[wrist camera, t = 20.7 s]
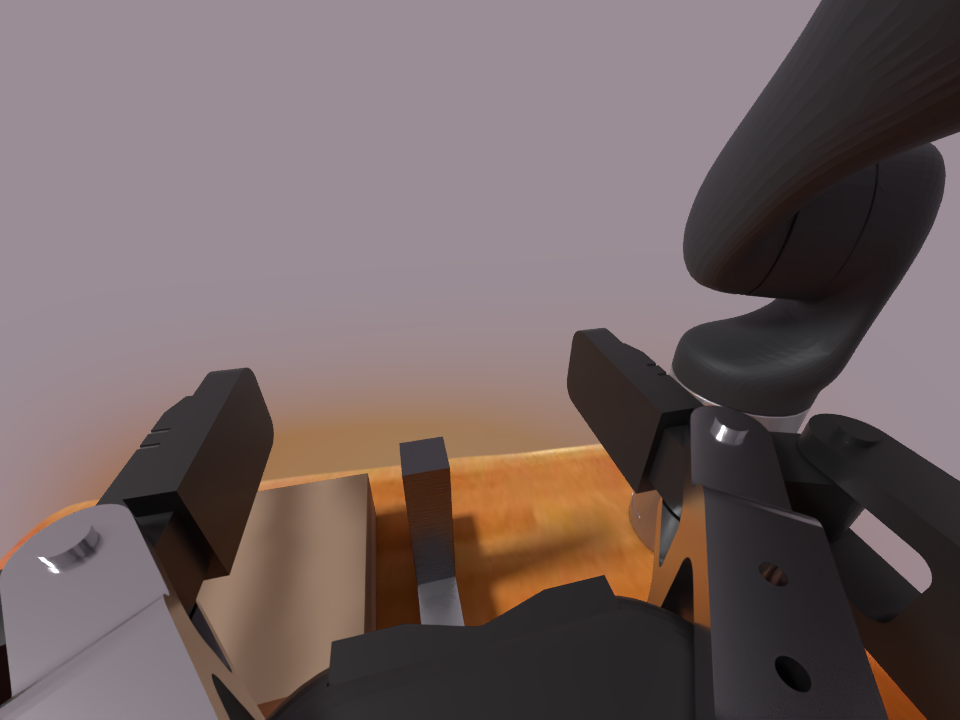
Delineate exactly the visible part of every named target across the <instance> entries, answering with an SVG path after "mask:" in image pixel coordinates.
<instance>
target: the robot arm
mask: <svg viewBox="0 0 960 720" xmlns="http://www.w3.org/2000/svg"><path fill="white" fill-rule="evenodd" d="M957 132H960V0H822V1H821V2H820V4H819V6H818V7H817V9H816V11H815V12H814V14H813V16H812V17H811V19H810V21H809V22H808V24H807V26H806V27H805V29H804V30H803V32H802V33H801V35H800V37H799V38H798V40H797V41H796V43H795V44H794V46H793V47H792V49H791V51H790V52H789V54H788V55H787V56H786V58H785V60H784V61H783V62H782V64H781V65H780V67H779V68H778V70H777V71H776V73H775V74H774V76H773V77H772V79H771V80H770V82H769V83H768V85H767V86H766V87H765V89H764V90H763V92H762V93H761V95H760V96H759V97H758V99H757V100H756V102H755V103H754V105H753V106H752V107H751V109H750V110H749V112H748V113H747V115H746V116H745V118H744V119H743V120H742V122H741V123H740V125H739V126H738V128H737V129H736V131H735V132H734V133H733V135H732V136H731V138H730V139H729V141H728V142H727V144H726V145H725V147H724V148H723V150H722V151H721V153H720V154H719V156H718V158H717V159H716V161H715V163H714V164H713V166H712V167H711V169H710V171H709V172H708V174H707V176H706V178H705V180H704V182H703V184H702V186H701V187H700V189H699V191H698V194H697V196H696V198H695V201H694V203H693V205H692V209H691V211H690V214H689V217H688V221H687V223H686V228H685V233H684V242H683V253H684V261H685V264H686V267H687V270H688V271H689V273H690V275H691V277H693V278H694V279H695V280H696V281H697V282H698V283H699V284H701V285H703V286H706V287H708V288H711V289H713V290H716V291H720V292H724V293H730V294H740V295H748V296H758V297H768V298H776V299H775V300H774V301H773V302H771V303H770V304H768V305H766V306H764V307H762V308H761V309H758V310H756V311H754V312H751V313H748V314H745V315H742V316H738V317H734V318H730V319H725V320H719V321H714V322H709V323H705V324H701V325H698V326H696V327H693V328H692V329H690V330H688V331H687V332H686V333H685V334H684V335H683V336H682V338H681V339H680V341H679V343H678V346H677V348H676V351H675V355H674V358H673V362H672V365H671V369H670V372H669V375H667V374H666V372H665V371H664V370H663V369H662V368H661V367H660V366H658V365H657V366H656V363H655V362H654V361H653V360H651V359H650V358H649V357H648V356H647V355H646V354H645V353H643V352H642V351H640V350H638V349H635V348H633V347H631V346H629V345H627V344H625V343H624V344H623V343H622V342H621V341H619V339H618V338H616V337H615V336H614V335H613V334H612V333H611V332H610V331H609V330H607V329H606V328H598V329H589V330H581V331H577V332H576V333H575V334H574V336H573V341H572V348H571V355H570V362H569V369H568V377H567V388H568V393H569V396H570V399H571V401H572V402H573V404H574V405H575V407H576V408H577V409H578V411H579V412H580V414H581V415H582V417H583V418H584V420H585V421H586V422H587V424H588V425H589V427H590V428H591V430H592V431H593V432H594V434H595V435H596V437H597V438H598V440H599V441H600V443H601V444H602V445H603V447H604V448H605V450H606V451H607V453H608V454H609V456H610V457H611V458H612V460H613V461H614V463H615V464H616V466H617V467H618V468H619V470H620V471H621V473H622V474H623V476H624V477H625V479H626V480H627V481H628V483H629V484H630V486H631V487H632V489H633V490H634V491H633V494H632V499H631V503H630V507H629V517H630V522H631V524H632V527H633V529H634V531H635V532H636V534H637V535H638V537H639V538H640V540H641V541H642V542H643V543H644V544H645V545H646V546H647V547H648V548H649V549H650V550H652V551H653V552H654V561H653V575H652V582H651V588H650V592H649V596H648V600H647V602H644V601H641V600H638V599H634V598H628V597H623V596H615V595H614V593H613V591H612V589H611V587H610V585H609V583H608V581H607V579H606V577H605V575H603V576H598V577H594V578H590V579H586V580H582V581H578V582H574V583H570V584H566V585H562V586H557V587H553V588H549V589H545V590H543V591H541V592H539V593H538V594H536V595H534V596H533V597H531V598H529V599H528V600H526V601H524V602H522V603H521V604H519V605H517V606H516V607H514V608H512V609H511V610H509V611H507V612H506V613H504V614H502V615H500V616H499V617H497V618H495V619H494V620H492V621H490V622H489V623H487V624H484V625H481V626H451V625H427V624H402V625H398V626H394V627H390V628H386V629H381V630H377V631H373V632H369V633H365V634H361V635H357V636H353V637H349V638H345V639H340V640H336V641H332V643H331V654H330V665H329V668H327V669H325V670H323V671H322V672H320V673H318V674H317V675H315V676H314V677H313V678H311V679H310V680H308V681H307V682H305V683H304V684H303V685H301V686H300V687H299V688H297V689H296V690H295V691H294V692H293V693H292V694H291V695H289V696H288V697H287V698H286V699H285V700H284V701H282V702H281V703H280V704H279V705H278V706H277V707H276V708H275V709H274V710H273V711H272V712H271V713H270V715H269V716H268V717H267V718H266V719H265V717H264V716H263V714H262V713H261V711H260V709H259V708H258V706H257V705H256V703H255V701H254V700H253V698H252V697H251V696H250V694H249V692H248V691H247V689H246V688H245V686H244V684H243V683H242V681H241V679H240V677H239V675H238V673H237V672H236V670H235V668H234V666H233V664H232V662H231V660H230V658H229V657H228V655H227V653H226V651H225V649H224V647H223V645H222V643H221V642H220V640H219V638H218V636H217V634H216V632H215V630H214V628H213V626H212V625H211V623H210V621H209V619H208V617H207V615H206V613H205V611H204V610H203V608H202V606H201V604H200V603H199V602H198V600H197V596H198V593H199V591H200V588H201V585H202V583H203V581H204V580H209V579H214V578H219V577H224V576H229V575H230V573H231V570H232V567H233V563H234V560H235V557H236V554H237V551H238V548H239V545H240V542H241V539H242V536H243V533H244V530H245V527H246V524H247V521H248V518H249V515H250V512H251V509H252V506H253V503H254V500H255V497H256V494H257V491H258V488H259V485H260V482H261V479H262V475H263V472H264V469H265V466H266V463H267V460H268V457H269V454H270V451H271V448H272V445H273V436H274V432H273V424H272V420H271V417H270V414H269V412H268V409H267V406H266V404H265V401H264V398H263V396H262V393H261V390H260V388H259V386H258V383H257V380H256V377H255V375H254V373H253V372H252V371H251V369H249V368H239V369H231V370H221V371H212V372H210V373H208V374H207V376H206V377H205V379H204V380H203V381H202V383H201V385H200V386H199V387H198V389H197V390H196V392H195V393H194V395H193V396H187V397H185V398H183V399H182V400H181V401H180V402H178V403H177V404H176V405H174V406H173V407H171V408H170V409H169V410H167V411H166V412H165V413H164V414H163V415H162V417H161V418H160V419H159V421H158V422H157V424H156V425H155V426H154V427H153V429H152V430H151V432H152V433H151V434H148V435H147V437H146V438H145V439H144V441H143V442H142V444H141V445H140V449H139V450H136V452H135V453H134V454H133V456H132V457H131V459H130V460H129V461H128V463H127V464H126V465H125V467H124V468H123V469H122V471H121V472H120V473H119V475H118V476H117V477H116V479H115V480H114V481H113V483H112V484H111V485H110V487H109V488H108V489H107V491H106V492H105V494H104V495H103V496H102V498H101V499H100V500H99V502H98V503H97V504H96V506H93V507H89V508H86V509H82V510H80V511H77V512H74V513H72V514H70V515H68V516H65V517H63V518H61V519H59V520H58V521H56V522H54V523H52V524H50V525H49V526H47V527H46V528H44V529H42V530H41V531H40V532H38V533H37V534H35V535H34V536H33V537H31V538H30V539H29V540H28V541H27V542H25V543H24V544H23V545H22V546H21V547H20V548H19V549H18V550H17V551H16V552H15V553H14V554H13V555H12V556H11V558H10V559H9V560H8V561H7V563H6V565H5V566H4V568H3V569H2V570H0V720H888V717H887V714H886V711H885V708H884V705H883V702H882V699H881V696H880V693H879V690H878V687H877V684H876V681H875V678H874V675H873V673H872V670H871V667H870V664H869V661H868V658H867V655H866V652H865V649H866V650H867V651H868V652H869V653H870V654H871V656H872V657H873V658H874V659H875V660H876V661H877V662H878V664H879V665H880V666H881V667H882V668H883V669H884V670H885V672H886V673H887V674H888V675H889V676H890V677H891V679H892V680H893V681H894V682H895V683H896V684H897V685H898V687H899V688H900V689H901V690H902V691H903V692H904V693H905V695H906V696H907V697H908V698H909V699H910V700H911V701H912V703H913V704H914V705H915V706H916V707H917V708H918V709H919V711H920V712H921V713H922V714H923V715H924V716H925V717H926V719H927V720H960V481H958V480H957V479H955V478H954V477H952V476H950V475H949V474H947V473H946V472H945V471H943V470H941V469H940V468H938V467H937V466H935V465H934V464H932V463H931V462H929V461H927V460H926V459H924V458H923V457H921V456H920V455H918V454H917V453H915V452H914V451H912V450H911V449H909V448H907V447H906V446H904V445H903V444H901V443H899V442H898V441H897V440H895V439H894V438H892V437H890V436H889V435H887V434H886V433H884V432H883V431H881V430H879V429H877V428H875V427H873V426H871V425H869V424H867V423H865V422H862V421H859V420H856V419H853V418H850V417H846V416H842V415H836V414H818V415H815V416H813V417H812V418H810V420H809V422H808V423H807V425H806V427H805V429H804V430H803V432H802V433H801V434H798V433H797V431H798V430H799V428H800V426H801V424H802V422H803V421H804V419H805V417H806V415H807V413H808V411H809V410H810V408H811V406H812V404H813V403H814V401H815V399H816V397H817V395H818V394H819V392H820V391H821V390H822V389H823V388H825V387H826V386H828V385H829V384H830V383H831V382H832V381H833V380H834V379H835V378H837V376H838V375H839V374H840V373H841V372H842V370H843V369H844V367H845V366H846V364H847V363H848V361H849V360H850V358H851V357H852V355H853V353H854V352H855V350H856V348H857V347H858V345H859V343H860V342H861V340H862V339H863V337H864V336H865V334H866V333H867V331H868V330H869V328H870V327H871V325H872V323H873V322H874V320H875V319H876V317H877V316H878V314H879V313H880V312H881V310H882V309H883V307H884V305H885V304H886V303H887V301H888V300H889V298H890V297H891V295H892V294H893V292H894V290H895V289H896V288H897V286H898V285H899V283H900V282H901V280H902V279H903V277H904V275H905V274H906V272H907V271H908V269H909V267H910V266H911V264H912V263H913V261H914V259H915V258H916V256H917V254H918V253H919V251H920V249H921V247H922V245H923V243H924V242H925V240H926V238H927V236H928V234H929V232H930V230H931V228H932V226H933V224H934V221H935V218H936V215H937V213H938V210H939V207H940V204H941V201H942V198H943V193H944V186H945V176H946V175H945V165H944V161H943V158H942V155H941V154H940V152H939V151H938V149H937V148H936V147H935V146H934V145H932V144H931V143H930V142H933V141H936V140H938V139H941V138H944V137H946V136H949V135H952V134H955V133H957ZM865 508H866V509H867V510H868V511H869V512H870V513H872V514H873V515H874V516H875V517H876V518H878V519H879V520H880V521H881V522H882V523H883V524H885V525H886V526H887V527H888V528H889V529H891V530H892V531H893V532H894V533H896V534H897V535H898V536H899V537H900V538H901V539H903V540H904V541H905V542H906V543H907V544H909V545H910V546H911V547H912V548H913V549H915V550H916V551H917V552H918V553H919V554H920V555H921V556H922V557H923V559H924V560H925V561H926V563H927V564H928V566H929V568H930V570H931V573H932V583H931V585H930V587H929V588H928V589H927V590H925V591H924V592H923V593H922V594H921V593H920V592H919V591H918V590H917V589H916V588H914V587H913V586H912V585H911V584H910V583H909V582H908V581H907V580H906V579H905V578H903V577H902V576H901V575H900V574H899V573H898V572H897V571H896V570H895V569H894V568H893V567H892V566H890V565H889V564H888V563H887V562H886V561H885V560H884V559H883V558H882V557H881V556H880V555H878V554H877V553H876V552H875V551H874V550H873V549H872V548H871V547H870V546H869V545H867V544H866V543H865V542H864V541H863V540H862V539H861V538H860V537H859V536H858V535H856V534H855V533H854V532H853V531H852V530H851V529H850V528H849V527H850V526H851V525H852V523H853V522H854V521H855V520H856V518H857V517H858V516H859V515H860V513H861V512H862V511H863V510H864V509H865ZM864 648H865V649H864Z"/></svg>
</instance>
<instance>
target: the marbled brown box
mask: <svg viewBox="0 0 960 720" xmlns="http://www.w3.org/2000/svg"><path fill="white" fill-rule="evenodd" d="M197 600H198V602H199V603H200V604H201V606H202V608H203V610H204V611H205V613H206V615H207V617H208V619H209V621H210V623H211V625H212V626H213V628H214V630H215V632H216V634H217V636H218V638H219V640H220V642H221V643H222V645H223V647H224V649H225V651H226V653H227V655H228V657H229V658H230V660H231V662H232V664H233V666H234V668H235V670H236V672H237V673H238V675H239V677H240V679H241V681H242V683H243V684H244V686H245V688H246V689H247V691H248V692H249V694H250V696H251V697H252V698H253V700H254V701H255V703H256V705H257V706H258V708H259V709H260V711H261V713H262V714H263V716H264V717H265V719H266V718H267V717H268V716H269V715H270V713H271V712H272V711H273V710H274V709H275V708H276V707H277V706H278V705H279V704H280V703H281V702H282V701H284V700H285V699H286V698H287V697H288V696H289V695H291V694H292V693H293V692H294V691H295V690H296V689H297V688H299V687H300V686H301V685H303V684H304V683H305V682H307V681H308V680H310V679H311V678H313V677H314V676H315V675H317V674H318V673H320V672H322V671H323V670H325V669H327V668H329V665H330V654H331V643H332V641H336V640H340V639H345V638H349V637H353V636H357V635H361V634H365V633H369V632H373V631H376V512H375V507H374V502H373V497H372V492H371V487H370V483H369V478H368V473H366V474H360V475H354V476H348V477H342V478H336V479H330V480H324V481H318V482H312V483H306V484H300V485H294V486H288V487H282V488H276V489H270V490H264V491H258V492H257V494H256V497H255V500H254V503H253V506H252V509H251V512H250V515H249V518H248V521H247V524H246V527H245V530H244V533H243V536H242V539H241V542H240V545H239V548H238V551H237V554H236V557H235V560H234V563H233V567H232V570H231V573H230V575H229V576H224V577H219V578H214V579H209V580H204V581H203V583H202V585H201V588H200V591H199V593H198V596H197Z"/></svg>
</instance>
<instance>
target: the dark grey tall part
mask: <svg viewBox="0 0 960 720" xmlns="http://www.w3.org/2000/svg"><path fill="white" fill-rule="evenodd" d="M400 456H401V468H402V478H403V485H404V493H405V500H406V507H407V514H408V521H409V528H410V535H411V543H412V550H413V557H414V564H415V571H416V578H417V586H418V596H419V606H420V617H421V624H427V625H451V626H464V621H463V615H462V610H461V604H460V599H459V594H458V588H457V583H456V577H455V560H454V541H453V521H452V501H451V482H450V466H449V462H448V458H447V453H446V449H445V445H444V440H443V437H437V438H431V439H425V440H418V441H412V442H405V443H400Z"/></svg>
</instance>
